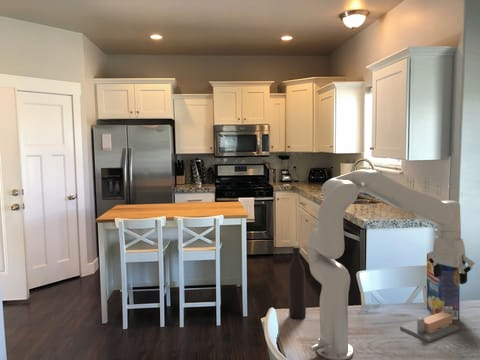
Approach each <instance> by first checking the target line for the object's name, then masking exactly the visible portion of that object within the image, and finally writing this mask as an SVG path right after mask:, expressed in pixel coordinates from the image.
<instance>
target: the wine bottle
mask: <svg viewBox="0 0 480 360" xmlns="http://www.w3.org/2000/svg"><path fill="white" fill-rule="evenodd" d="M287 271H288V273H287V275H288V277H287V278H288V315H289V317H290V318H291V319H295V320H303V319H304V318H306V315H307V309H306V306H307V305H306V299H307V298H306V271H305V265H304V264H303V262H302V260H301V258H300V246H293V247H292V259H291V261H290V263H289V266H288V269H287Z"/></svg>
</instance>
